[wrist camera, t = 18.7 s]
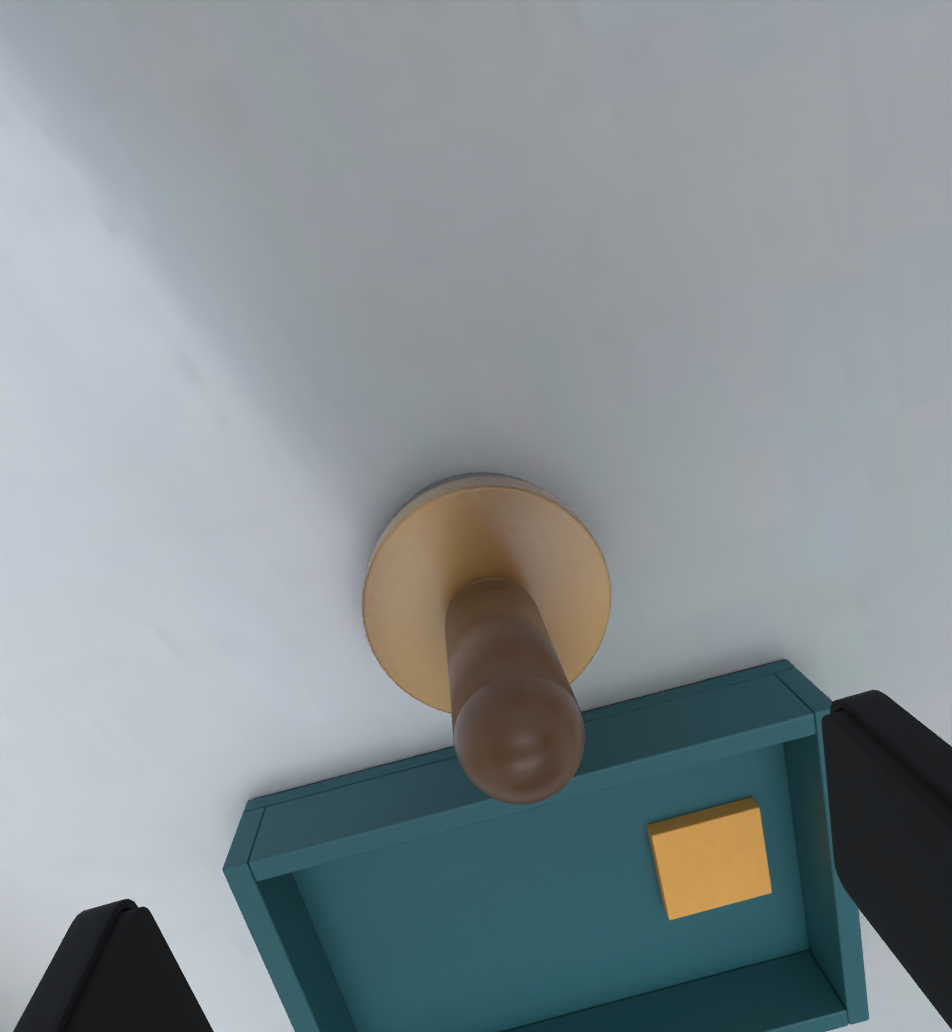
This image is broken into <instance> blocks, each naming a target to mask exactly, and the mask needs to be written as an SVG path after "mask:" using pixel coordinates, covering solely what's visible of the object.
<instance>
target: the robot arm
mask: <svg viewBox="0 0 952 1032" xmlns="http://www.w3.org/2000/svg"><path fill="white" fill-rule="evenodd" d="M822 735H823V746H824V757H825V768H826V779H827V790H828V801H829V812H830V823H831V834H832V845H833V856H834V864H835V869H836V872H837V875H838V877H839V880H840V882H841V884H842V885H843V887H844V889H845V891H846V892H847V894H848V895H849V896H850V898H851V899H852V900H853V902H854V903H855V904H856V906H857V907H858V908H859V909H860V911H861V912H862V913H863V915H864V916H865V917H866V919H867V920H868V921H869V922H870V924H871V925H872V926H873V928H874V929H875V930H876V932H877V933H878V934H879V936H880V937H881V938H882V939H883V941H884V942H885V943H886V945H887V946H888V947H889V949H890V950H891V951H892V952H893V954H894V955H895V956H896V958H897V959H898V960H899V962H900V963H901V964H902V965H903V967H904V968H905V969H906V971H907V972H908V973H909V975H910V976H911V977H912V979H913V980H914V981H915V982H916V984H917V985H918V986H919V988H920V989H921V990H922V992H923V993H924V994H925V995H926V997H927V998H928V999H929V1001H930V1002H931V1003H932V1005H933V1006H934V1007H935V1009H936V1010H937V1011H938V1012H939V1014H940V1015H941V1016H942V1018H943V1019H944V1020H945V1022H946V1023H947V1024H948V1025H949V1027H950V1028H951V1029H952V747H951V746H950V745H949V744H947V743H946V742H945V741H944V740H942V739H941V738H940V737H939V736H937V735H936V734H935V733H933V732H932V731H931V730H930V729H928V728H927V727H926V726H925V725H923V724H922V723H921V722H920V721H918V720H917V719H916V718H915V717H913V716H912V715H911V714H909V713H908V712H907V711H906V710H904V709H903V708H902V707H901V706H899V705H898V704H897V703H896V702H894V701H893V700H892V699H890V698H889V697H888V696H887V695H885V694H884V693H882V692H880V691H878V690H871V691H867V692H863V693H860V694H856V695H853V696H849V697H846V698H842V699H838V700H836V701H834V702H832V704H831V706H830V714H827V715H825V716H823V718H822ZM13 1032H214V1031H213V1030H212V1028H211V1026H210V1024H209V1022H208V1020H207V1018H206V1016H205V1014H204V1013H203V1011H202V1009H201V1007H200V1005H199V1003H198V1001H197V999H196V997H195V995H194V994H193V992H192V990H191V988H190V986H189V984H188V982H187V980H186V978H185V976H184V975H183V973H182V971H181V969H180V967H179V965H178V963H177V961H176V959H175V957H174V956H173V954H172V952H171V950H170V948H169V946H168V944H167V942H166V940H165V938H164V937H163V935H162V933H161V931H160V929H159V927H158V925H157V923H156V921H155V919H154V918H153V916H152V914H151V912H150V911H149V910H148V909H147V908H146V907H139V908H138V906H137V905H136V904H135V902H134V901H132V900H130V899H125V900H120V901H117V902H113V903H110V904H106V905H102V906H99V907H95V908H92V909H88V910H85V911H83V912H81V913H80V914H78V915H77V916H76V918H75V919H74V921H73V922H72V924H71V926H70V927H69V929H68V931H67V933H66V935H65V937H64V939H63V940H62V942H61V944H60V946H59V948H58V950H57V952H56V953H55V955H54V957H53V959H52V961H51V963H50V965H49V966H48V968H47V970H46V972H45V974H44V976H43V978H42V979H41V981H40V983H39V985H38V987H37V989H36V991H35V992H34V994H33V996H32V998H31V1000H30V1002H29V1004H28V1005H27V1007H26V1009H25V1011H24V1013H23V1015H22V1016H21V1018H20V1020H19V1022H18V1024H17V1026H16V1028H15V1029H14V1031H13Z"/></svg>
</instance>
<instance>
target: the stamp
mask: <svg viewBox="0 0 952 1032" xmlns="http://www.w3.org/2000/svg"><path fill="white" fill-rule="evenodd" d="M610 607H611V586H610V578H609V573H608V570H607V566H606V562H605V560H604V557H603V555H602V553H601V550H600V548H599V546H598V544H597V543H596V541H595V540H594V538H593V536H592V535H591V533H590V532H589V531H588V530H587V528H586V527H585V526H584V525H583V524H582V522H581V521H580V520H579V519H578V517H577V516H576V515H575V514H574V513H573V511H571V510H570V509H569V508H568V507H567V506H566V505H565V504H564V503H563V502H562V501H560V500H559V499H557V498H556V497H554V496H553V495H551V494H550V493H548V492H546V491H544V490H542V489H540V488H538V487H536V486H534V485H532V484H530V483H528V482H526V481H524V480H521V479H518V478H515V477H512V476H507V475H503V474H498V473H484V472H483V473H468V474H463V475H457V476H453V477H450V478H447V479H444V480H441V481H439V482H437V483H435V484H433V485H431V486H429V487H427V488H425V489H424V490H422V491H421V492H419V493H418V494H416V495H415V496H414V497H413V498H411V499H410V500H409V501H408V502H407V503H406V504H405V505H404V506H403V507H402V508H401V509H400V510H399V511H398V512H397V514H396V515H395V516H394V518H393V519H392V520H391V522H390V523H389V524H388V525H387V527H386V528H385V530H384V531H383V533H382V534H381V536H380V538H379V539H378V541H377V543H376V545H375V547H374V549H373V552H372V555H371V558H370V561H369V564H368V569H367V573H366V578H365V583H364V588H363V596H362V614H363V624H364V628H365V632H366V636H367V639H368V642H369V644H370V647H371V649H372V652H373V654H374V655H375V657H376V659H377V661H378V662H379V664H380V666H381V667H382V668H383V669H384V671H385V672H386V673H387V675H388V676H389V677H390V678H391V679H392V680H393V681H394V682H395V683H396V684H397V685H398V686H399V687H400V688H401V689H403V690H404V691H405V692H407V693H408V694H409V695H411V696H412V697H413V698H415V699H417V700H419V701H421V702H422V703H424V704H426V705H428V706H431V707H433V708H435V709H438V710H441V711H444V712H448V713H451V714H452V725H453V738H454V745H455V750H456V754H457V758H458V760H459V763H460V765H461V768H462V769H463V771H464V772H465V774H466V775H467V777H468V778H469V779H470V781H471V782H472V783H473V784H474V785H475V786H476V787H477V788H478V789H479V790H480V791H482V792H483V793H485V794H486V795H488V796H490V797H491V798H493V799H495V800H498V801H501V802H503V803H509V804H517V805H518V804H532V803H537V802H540V801H543V800H546V799H547V798H549V797H551V796H553V795H555V794H556V793H558V792H559V791H560V790H562V789H563V788H564V787H565V786H566V785H567V784H568V783H569V782H570V780H571V779H572V778H573V776H574V774H575V773H576V771H577V769H578V767H579V765H580V762H581V759H582V757H583V752H584V744H585V728H584V722H583V718H582V714H581V711H580V709H579V706H578V704H577V701H576V699H575V696H574V694H573V692H572V689H571V687H570V684H571V683H572V682H573V681H574V680H575V679H576V678H577V677H578V676H579V675H580V674H581V673H582V671H583V670H584V669H585V668H586V666H587V665H588V664H589V663H590V661H591V660H592V658H593V656H594V655H595V653H596V651H597V650H598V648H599V645H600V643H601V641H602V639H603V637H604V634H605V630H606V627H607V624H608V620H609V614H610Z"/></svg>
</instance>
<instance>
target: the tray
mask: <svg viewBox="0 0 952 1032" xmlns="http://www.w3.org/2000/svg"><path fill="white" fill-rule="evenodd" d="M832 702H833V701H832V700H830V699H829V698H828V697H827V696H826V695H825V694H824V693H823V692H822V691H821V690H819V689H818V688H817V687H816V686H815V685H814V684H813V683H812V682H811V681H810V680H809V679H807V678H806V677H805V676H804V675H803V674H802V673H801V672H800V671H799V670H798V669H796V668H795V667H794V666H793V665H792V664H791V663H790V662H789V661H788V660H782V661H778V662H774V663H771V664H767V665H763V666H759V667H755V668H752V669H748V670H744V671H740V672H736V673H733V674H729V675H725V676H721V677H717V678H714V679H710V680H706V681H702V682H698V683H695V684H691V685H687V686H683V687H679V688H676V689H672V690H668V691H664V692H660V693H656V694H653V695H649V696H645V697H641V698H637V699H634V700H630V701H626V702H622V703H618V704H615V705H611V706H607V707H603V708H599V709H596V710H592V711H588V712H584V713H581V714H582V718H583V722H584V728H585V744H584V752H583V757H582V759H581V762H580V765H579V767H578V769H577V771H576V773H575V774H574V776H573V778H572V779H571V780H570V782H569V783H568V784H567V785H566V786H565V787H564V788H563V789H562V790H560V791H559V792H558V793H556V794H555V795H553V796H551V797H549V798H547V799H546V800H543V801H540V802H537V803H532V804H518V805H517V804H509V803H503V802H501V801H498V800H495V799H493V798H491V797H490V796H488V795H486V794H485V793H483V792H482V791H480V790H479V789H478V788H477V787H476V786H475V785H474V784H473V783H472V782H471V781H470V779H469V778H468V777H467V775H466V774H465V772H464V771H463V769H462V768H461V765H460V763H459V760H458V758H457V754H456V750H455V747H451V748H447V749H444V750H440V751H436V752H432V753H428V754H425V755H421V756H417V757H413V758H409V759H406V760H402V761H398V762H394V763H390V764H387V765H383V766H379V767H375V768H371V769H367V770H364V771H360V772H356V773H352V774H348V775H345V776H341V777H337V778H333V779H329V780H326V781H322V782H318V783H314V784H310V785H307V786H303V787H299V788H295V789H291V790H288V791H284V792H280V793H276V794H272V795H269V796H265V797H261V798H257V799H253V800H250V801H248V802H247V804H246V807H245V810H244V813H243V814H242V817H241V820H240V823H239V825H238V828H237V831H236V834H235V836H234V839H233V842H232V845H231V847H230V850H229V853H228V856H227V858H226V861H225V864H224V867H223V872H224V874H225V877H226V879H227V881H228V883H229V886H230V888H231V890H232V892H233V894H234V897H235V899H236V901H237V903H238V906H239V908H240V910H241V912H242V915H243V917H244V919H245V921H246V923H247V926H248V928H249V930H250V932H251V935H252V937H253V939H254V941H255V944H256V946H257V948H258V950H259V952H260V955H261V957H262V959H263V961H264V964H265V966H266V968H267V970H268V973H269V975H270V977H271V979H272V981H273V984H274V986H275V988H276V990H277V993H278V995H279V997H280V999H281V1002H282V1004H283V1006H284V1008H285V1010H286V1013H287V1015H288V1017H289V1019H290V1022H291V1024H292V1026H293V1028H294V1031H295V1032H825V1031H829V1030H833V1029H837V1028H840V1027H844V1026H847V1025H848V1023H849V1024H855V1023H859V1022H862V1021H866V1020H868V1019H869V1013H868V1003H867V992H866V982H865V972H864V961H863V951H862V941H861V930H860V920H859V910H858V907H857V906H856V904H855V903H854V902H853V900H852V899H851V898H850V896H849V895H848V894H847V892H846V891H845V889H844V887H843V885H842V884H841V882H840V880H839V877H838V875H837V872H836V869H835V864H834V856H833V845H832V834H831V823H830V812H829V801H828V790H827V779H826V768H825V757H824V746H823V735H822V718H823V716H825V715H827V714H830V706H831V704H832ZM749 797H752V798H753V799H754V800H755V802H756V803H757V805H758V806H759V808H760V814H761V821H762V828H763V834H764V841H765V848H766V855H767V861H768V868H769V875H770V882H771V889H772V893H770V894H766V895H762V896H759V897H755V898H751V899H748V900H744V901H740V902H736V903H733V904H729V905H725V906H721V907H718V908H714V909H710V910H707V911H703V912H699V913H695V914H692V915H688V916H684V917H680V918H677V919H673V920H669V919H668V916H667V914H666V912H665V909H664V906H663V901H662V896H661V892H660V887H659V882H658V878H657V873H656V868H655V863H654V859H653V854H652V849H651V844H650V840H649V835H648V830H647V825H648V824H651V823H655V822H659V821H663V820H666V819H670V818H674V817H678V816H681V815H685V814H689V813H693V812H696V811H700V810H704V809H708V808H711V807H715V806H719V805H723V804H726V803H730V802H734V801H738V800H741V799H745V798H749Z"/></svg>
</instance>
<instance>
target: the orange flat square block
mask: <svg viewBox="0 0 952 1032" xmlns="http://www.w3.org/2000/svg"><path fill="white" fill-rule="evenodd" d="M647 830H648V835H649V840H650V844H651V849H652V854H653V859H654V863H655V868H656V873H657V878H658V882H659V887H660V892H661V896H662V901H663V906H664V909H665V912H666V914H667V916H668V919H669V920H673V919H677V918H680V917H684V916H688V915H692V914H695V913H699V912H703V911H707V910H710V909H714V908H718V907H721V906H725V905H729V904H733V903H736V902H740V901H744V900H748V899H751V898H755V897H759V896H762V895H766V894H770V893H772V889H771V882H770V875H769V868H768V861H767V855H766V848H765V841H764V834H763V828H762V821H761V814H760V808H759V806H758V805H757V803H756V802H755V800H754V799H753V798H752V797H749V798H745V799H741V800H738V801H734V802H730V803H726V804H723V805H719V806H715V807H711V808H708V809H704V810H700V811H696V812H693V813H689V814H685V815H681V816H678V817H674V818H670V819H666V820H663V821H659V822H655V823H651V824H648V825H647Z"/></svg>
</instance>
